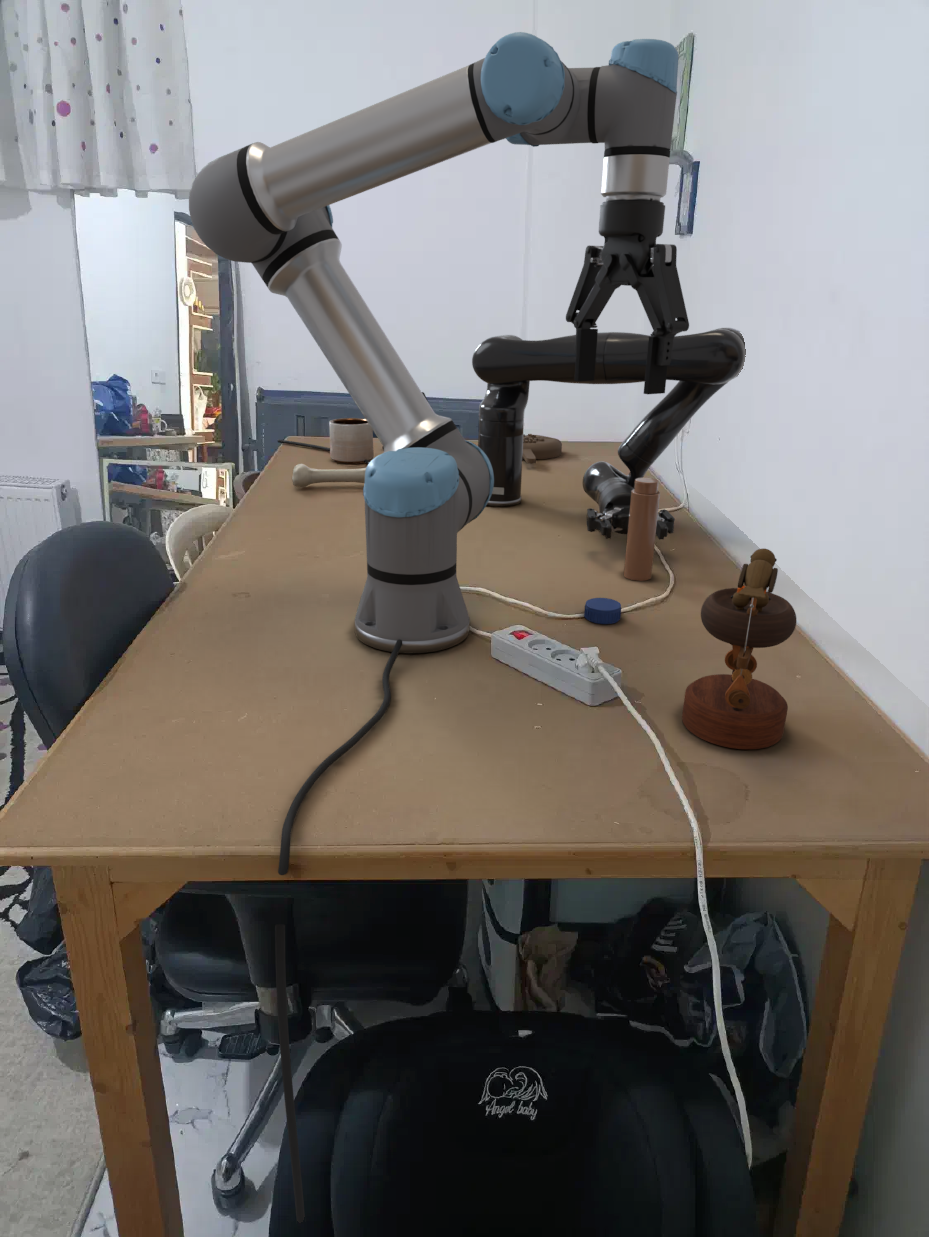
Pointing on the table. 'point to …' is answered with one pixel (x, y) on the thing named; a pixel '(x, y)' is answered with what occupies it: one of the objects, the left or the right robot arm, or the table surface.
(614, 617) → the lid
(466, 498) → the left robot arm
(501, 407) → the right robot arm
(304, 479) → the dog toy
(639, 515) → the bottle
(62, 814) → the table surface
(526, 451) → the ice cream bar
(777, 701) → the music box
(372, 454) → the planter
